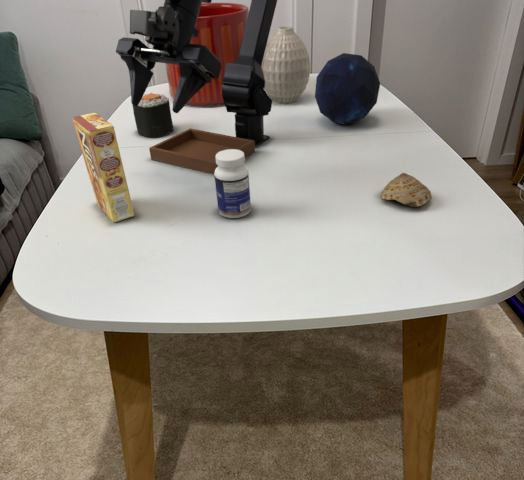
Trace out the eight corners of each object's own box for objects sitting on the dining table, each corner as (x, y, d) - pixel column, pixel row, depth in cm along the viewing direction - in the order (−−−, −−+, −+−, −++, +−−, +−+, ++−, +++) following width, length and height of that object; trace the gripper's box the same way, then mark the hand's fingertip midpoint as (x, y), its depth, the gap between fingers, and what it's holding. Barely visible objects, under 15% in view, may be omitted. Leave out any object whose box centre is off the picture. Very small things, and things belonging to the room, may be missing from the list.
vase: (310, 106, 131) (312, 31, 120) (261, 108, 131) (258, 33, 120) (308, 92, 141) (309, 21, 130) (261, 94, 141) (259, 23, 130)
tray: (191, 139, 116) (190, 128, 114) (255, 152, 108) (254, 140, 107) (151, 159, 108) (149, 147, 106) (217, 175, 100) (216, 162, 98)
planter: (243, 108, 132) (237, 16, 118) (159, 107, 135) (144, 18, 122) (259, 84, 149) (256, 1, 135) (184, 84, 152) (174, 3, 139)
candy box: (136, 216, 88) (115, 124, 78) (112, 223, 86) (88, 130, 76) (117, 199, 94) (95, 111, 84) (95, 205, 92) (70, 116, 82)
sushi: (157, 123, 125) (151, 88, 120) (179, 130, 121) (174, 94, 116) (131, 133, 121) (123, 97, 116) (153, 140, 117) (147, 103, 111)
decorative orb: (349, 115, 108) (377, 42, 105) (293, 103, 116) (318, 35, 113) (373, 140, 120) (399, 76, 117) (321, 128, 128) (344, 68, 125)
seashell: (408, 204, 83) (381, 170, 85) (395, 228, 88) (370, 195, 90) (446, 192, 85) (419, 160, 88) (431, 216, 90) (406, 184, 93)
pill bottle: (218, 205, 90) (212, 149, 83) (250, 203, 90) (246, 146, 84) (218, 220, 86) (212, 162, 79) (252, 218, 86) (248, 159, 79)
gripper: (105, -20, 81) (80, 79, 83) (197, -17, 73) (166, 92, 75) (149, 22, 91) (126, 109, 93) (234, 28, 83) (207, 124, 85)
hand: (154, 108), depth 87 cm, fingers open, 9 cm apart
